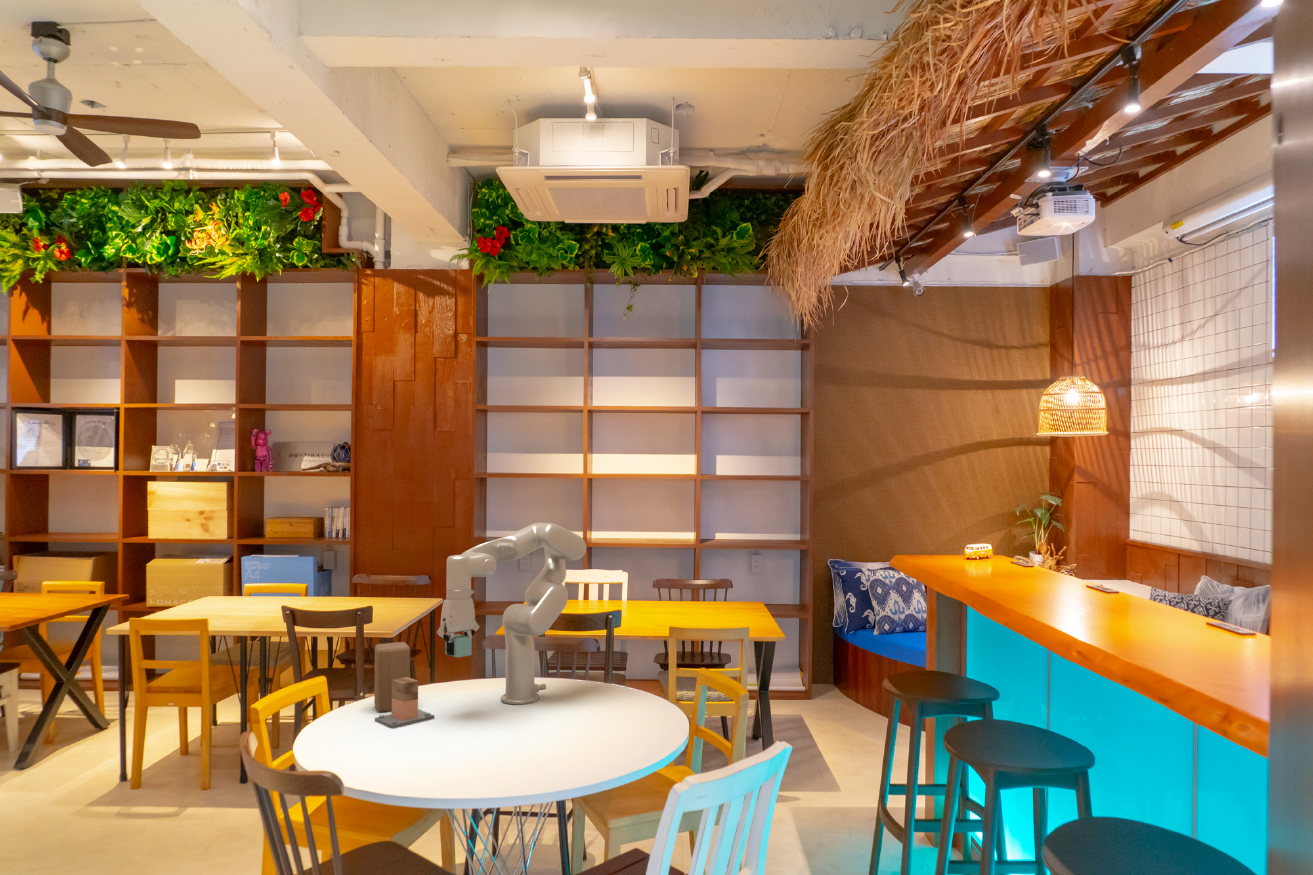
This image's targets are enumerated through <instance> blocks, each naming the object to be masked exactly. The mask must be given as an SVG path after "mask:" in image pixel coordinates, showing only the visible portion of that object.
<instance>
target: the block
mask: <svg viewBox="0 0 1313 875" xmlns="http://www.w3.org/2000/svg"><path fill="white" fill-rule="evenodd" d="M404 677H408V678H411V648H410V647H409V644H408V643H406V642H405V641H399V642H397V641H396V642H388V643H387V642H386V643H377V644H375V645H374V692H373V693H374V700H373V701H374V702H373V703H374V705H375V707H376V710H377V711H378V712H379V713H385V712H392V680H394V679H399V678H404Z"/></svg>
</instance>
